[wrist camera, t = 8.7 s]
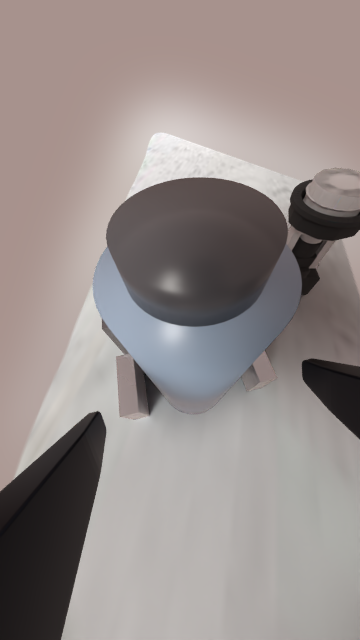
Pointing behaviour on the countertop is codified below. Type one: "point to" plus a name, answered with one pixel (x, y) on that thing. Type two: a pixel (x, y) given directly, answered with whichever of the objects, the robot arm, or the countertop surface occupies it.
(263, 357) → the motor block
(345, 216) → the push button
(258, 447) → the countertop surface
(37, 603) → the robot arm
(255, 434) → the countertop surface
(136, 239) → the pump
